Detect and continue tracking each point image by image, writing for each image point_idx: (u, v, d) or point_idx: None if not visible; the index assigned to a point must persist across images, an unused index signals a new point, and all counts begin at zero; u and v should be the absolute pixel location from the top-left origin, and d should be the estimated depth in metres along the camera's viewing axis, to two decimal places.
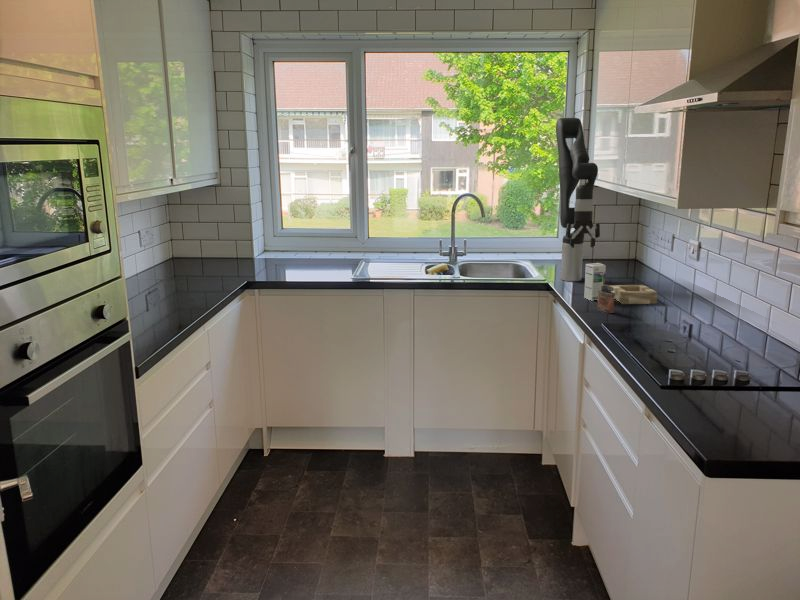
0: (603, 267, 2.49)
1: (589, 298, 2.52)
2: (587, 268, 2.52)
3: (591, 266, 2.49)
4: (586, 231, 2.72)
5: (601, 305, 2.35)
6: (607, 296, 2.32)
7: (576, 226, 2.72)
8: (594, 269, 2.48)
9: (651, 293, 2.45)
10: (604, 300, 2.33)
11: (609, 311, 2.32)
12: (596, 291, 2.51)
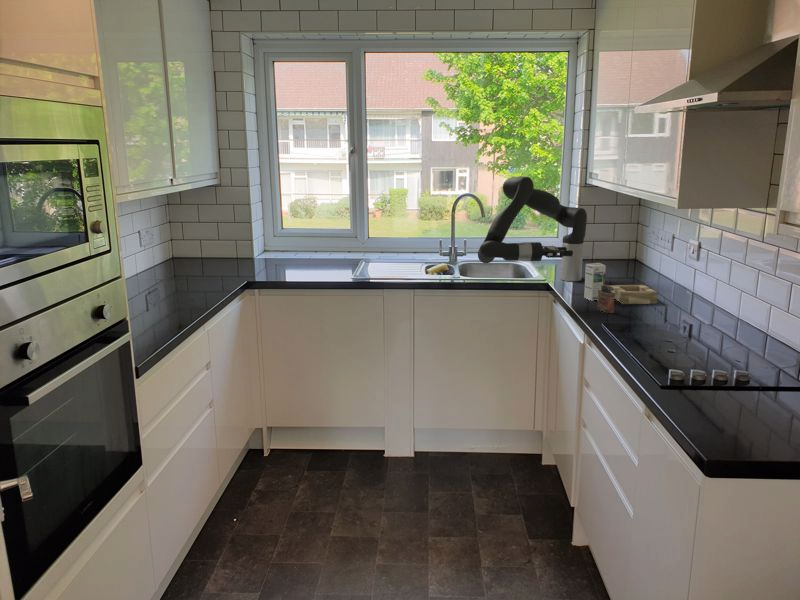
0: (603, 267, 2.49)
1: (589, 298, 2.52)
2: (587, 268, 2.52)
3: (591, 266, 2.49)
4: None
5: (601, 305, 2.35)
6: (607, 296, 2.32)
7: None
8: (594, 269, 2.48)
9: (651, 293, 2.45)
10: (604, 300, 2.33)
11: (609, 311, 2.32)
12: (596, 291, 2.51)
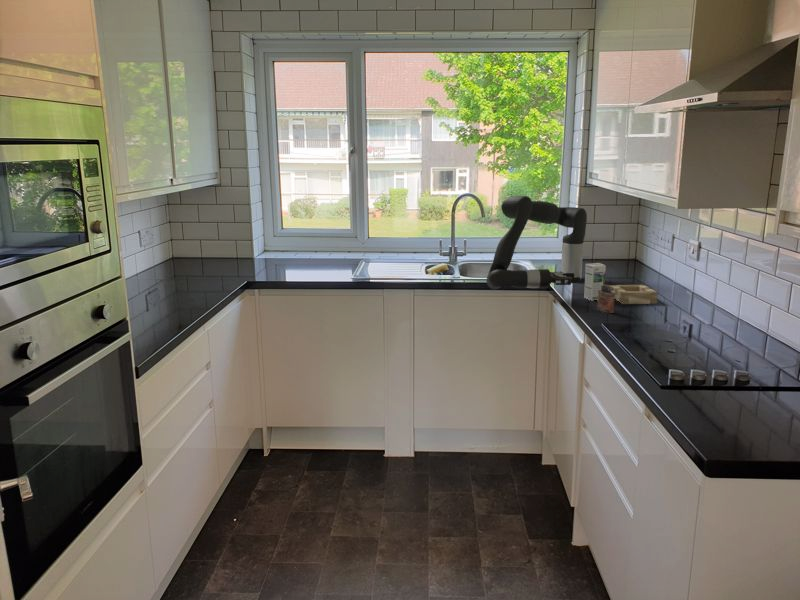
0: (603, 267, 2.49)
1: (589, 298, 2.52)
2: (587, 268, 2.52)
3: (591, 266, 2.49)
4: None
5: (601, 305, 2.35)
6: (607, 296, 2.32)
7: None
8: (594, 269, 2.48)
9: (651, 293, 2.45)
10: (604, 300, 2.33)
11: (609, 311, 2.32)
12: (596, 291, 2.51)
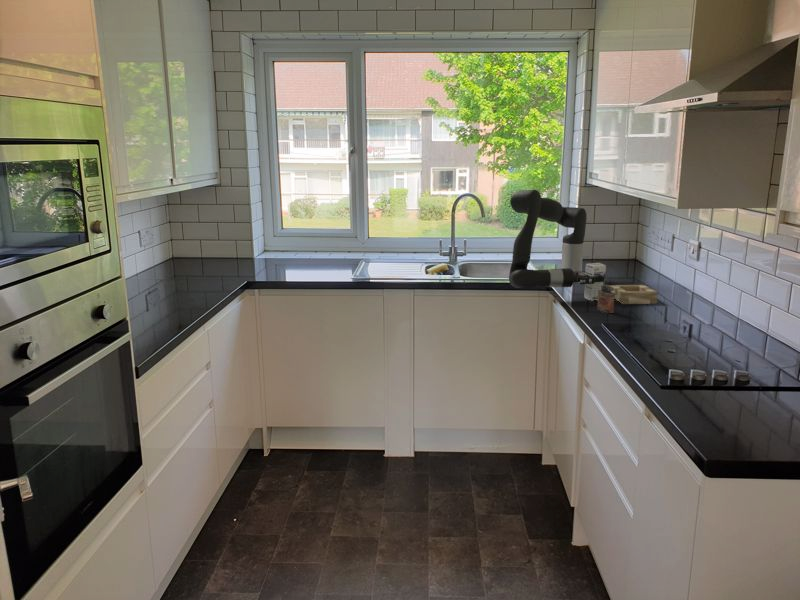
0: (604, 267, 2.49)
1: (589, 298, 2.52)
2: (587, 268, 2.52)
3: (591, 266, 2.49)
4: None
5: (601, 305, 2.35)
6: (607, 296, 2.32)
7: None
8: (594, 269, 2.48)
9: (651, 293, 2.45)
10: (604, 300, 2.33)
11: (609, 311, 2.32)
12: (596, 291, 2.51)
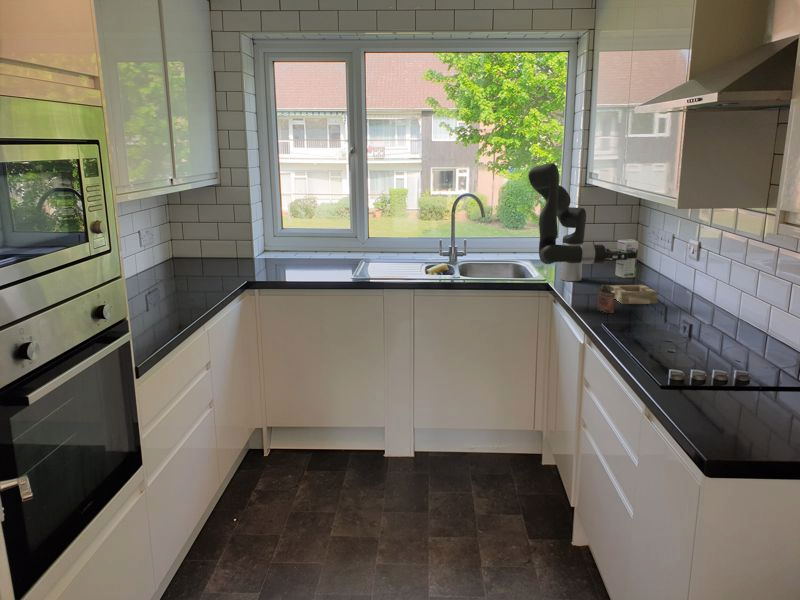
0: (636, 243, 2.46)
1: (621, 275, 2.49)
2: (619, 244, 2.48)
3: (623, 242, 2.46)
4: None
5: (601, 305, 2.35)
6: (607, 296, 2.32)
7: None
8: (627, 245, 2.45)
9: (651, 293, 2.45)
10: (604, 300, 2.33)
11: (609, 311, 2.32)
12: (628, 268, 2.47)
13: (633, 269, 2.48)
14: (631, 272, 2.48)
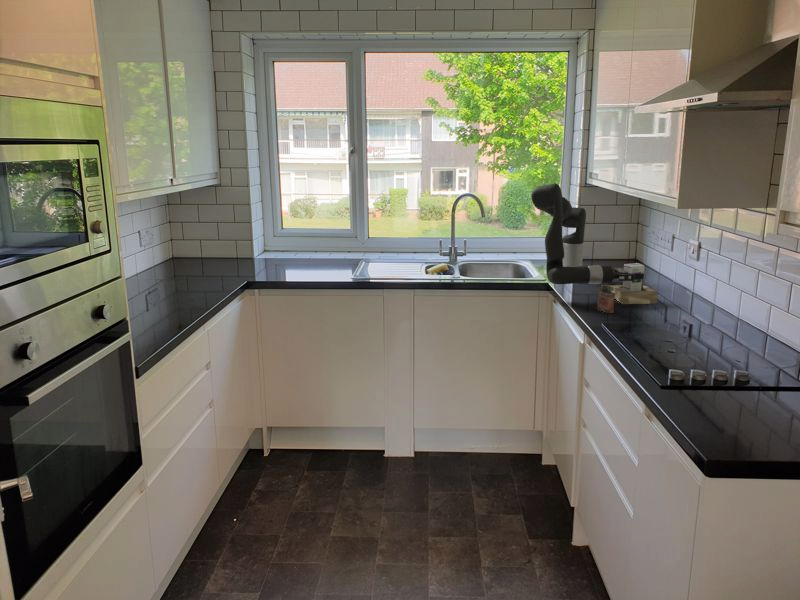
0: (642, 267, 2.48)
1: None
2: (625, 268, 2.51)
3: (630, 266, 2.48)
4: None
5: (601, 305, 2.35)
6: (607, 296, 2.32)
7: None
8: (633, 270, 2.47)
9: (651, 293, 2.45)
10: (604, 300, 2.33)
11: (609, 311, 2.32)
12: None
13: None
14: None
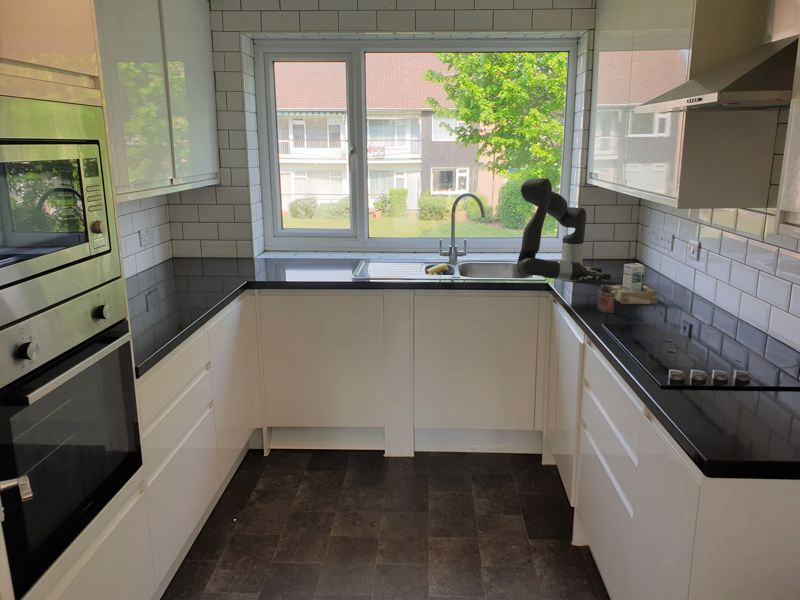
0: (642, 267, 2.48)
1: None
2: (625, 268, 2.51)
3: (630, 266, 2.48)
4: None
5: (601, 305, 2.35)
6: (607, 296, 2.32)
7: None
8: (633, 270, 2.47)
9: (651, 293, 2.45)
10: (604, 300, 2.33)
11: (609, 311, 2.32)
12: None
13: None
14: None
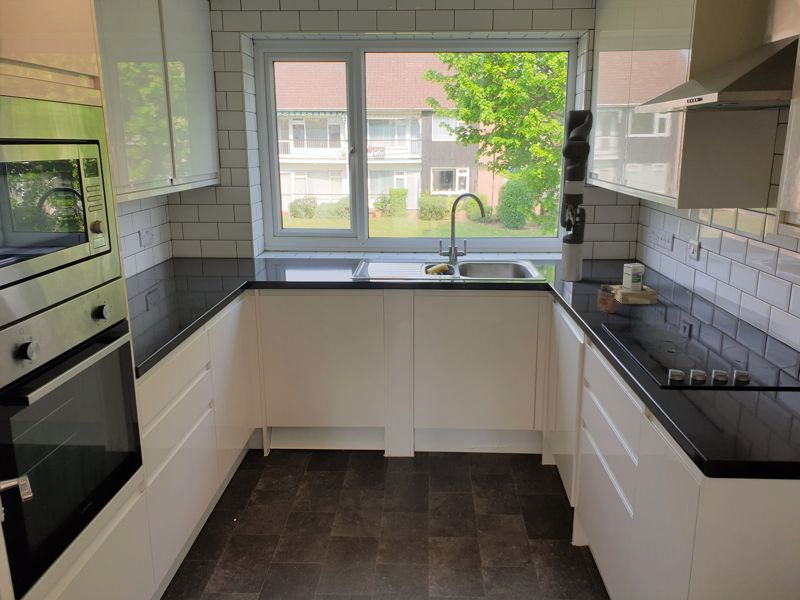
0: (642, 267, 2.48)
1: None
2: (625, 268, 2.51)
3: (630, 266, 2.48)
4: None
5: (601, 305, 2.35)
6: (607, 296, 2.32)
7: (567, 209, 2.57)
8: (633, 270, 2.47)
9: (651, 293, 2.45)
10: (604, 300, 2.33)
11: (609, 311, 2.32)
12: None
13: None
14: None
